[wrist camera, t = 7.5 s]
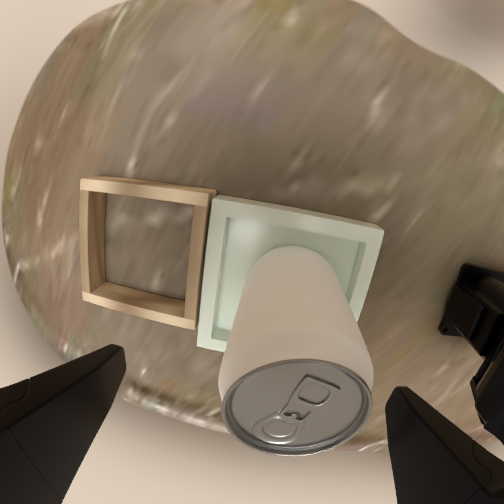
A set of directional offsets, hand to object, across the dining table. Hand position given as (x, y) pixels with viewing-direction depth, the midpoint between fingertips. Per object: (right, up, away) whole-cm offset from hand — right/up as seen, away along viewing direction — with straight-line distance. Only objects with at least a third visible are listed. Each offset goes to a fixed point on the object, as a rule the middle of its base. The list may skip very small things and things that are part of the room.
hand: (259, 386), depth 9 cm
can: (+3, +2, +13) cm, 13 cm away
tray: (+2, +2, +13) cm, 13 cm away
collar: (-8, +5, +13) cm, 16 cm away
